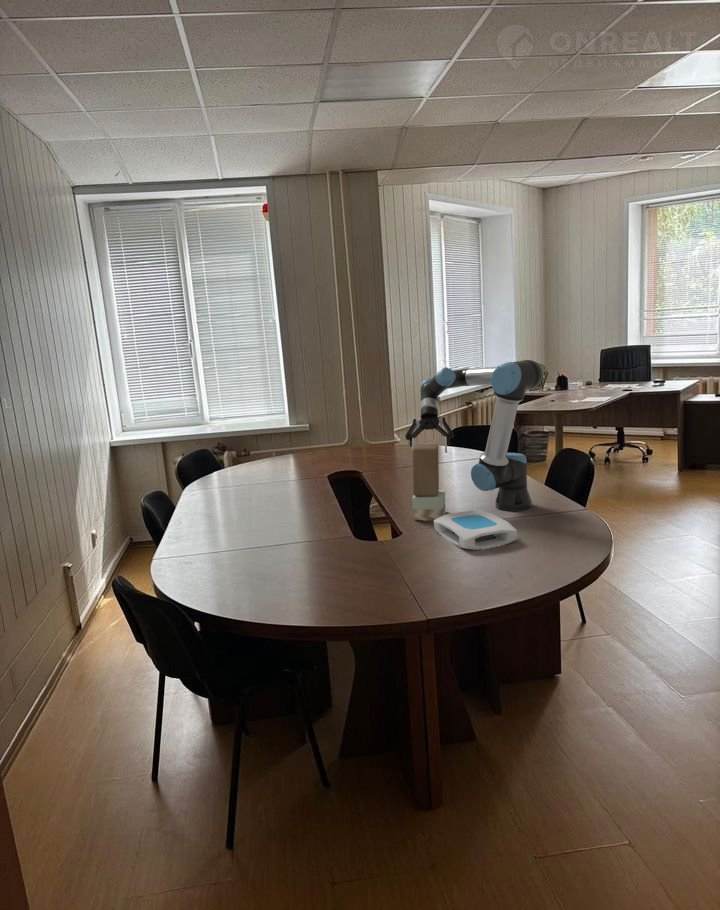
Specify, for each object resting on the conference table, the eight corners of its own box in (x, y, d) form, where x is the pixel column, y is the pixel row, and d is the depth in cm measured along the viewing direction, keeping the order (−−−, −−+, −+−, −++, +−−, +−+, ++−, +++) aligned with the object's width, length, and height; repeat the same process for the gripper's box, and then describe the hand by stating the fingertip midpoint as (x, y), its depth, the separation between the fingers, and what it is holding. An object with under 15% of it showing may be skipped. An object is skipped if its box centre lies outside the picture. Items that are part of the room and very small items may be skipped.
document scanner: (465, 553, 233) (464, 536, 232) (433, 531, 259) (432, 516, 258) (518, 543, 239) (518, 526, 237) (482, 523, 265) (481, 508, 264)
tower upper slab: (445, 501, 282) (444, 489, 281) (441, 509, 271) (441, 497, 270) (417, 501, 285) (416, 490, 284) (412, 509, 274) (412, 497, 273)
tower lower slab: (445, 512, 283) (444, 501, 282) (443, 521, 272) (442, 509, 271) (417, 513, 286) (416, 501, 285) (414, 521, 274) (413, 509, 273)
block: (437, 496, 272) (436, 448, 268) (413, 496, 273) (412, 448, 269) (438, 490, 281) (438, 444, 277) (415, 490, 283) (414, 444, 279)
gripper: (458, 414, 289) (460, 455, 277) (401, 417, 293) (400, 457, 281) (458, 403, 283) (459, 445, 271) (399, 407, 287) (398, 448, 275)
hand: (429, 451), depth 276 cm, fingers open, 13 cm apart
